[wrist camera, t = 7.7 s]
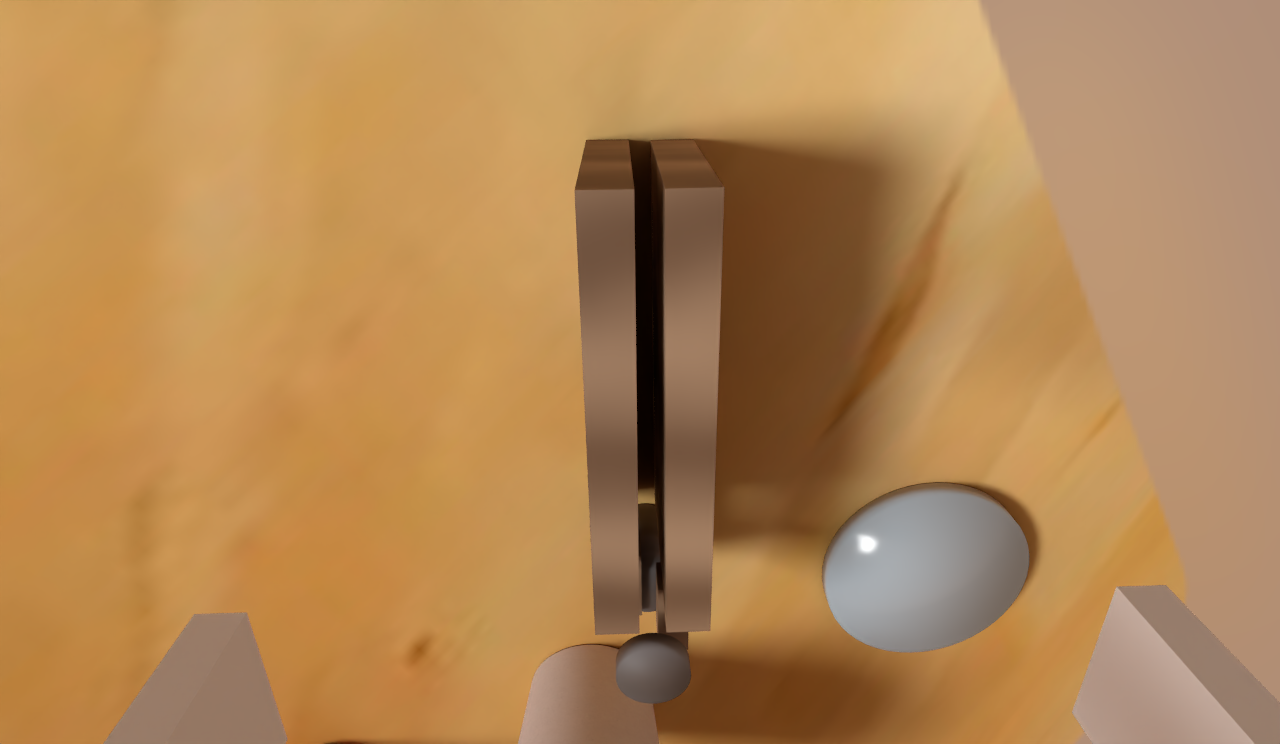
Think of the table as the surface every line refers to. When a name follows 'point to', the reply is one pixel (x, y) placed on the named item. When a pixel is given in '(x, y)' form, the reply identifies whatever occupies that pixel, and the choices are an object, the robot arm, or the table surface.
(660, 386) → the tongs hinged jaw
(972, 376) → the table surface
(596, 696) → the coffee cup
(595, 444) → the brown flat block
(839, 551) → the grey domed disc
